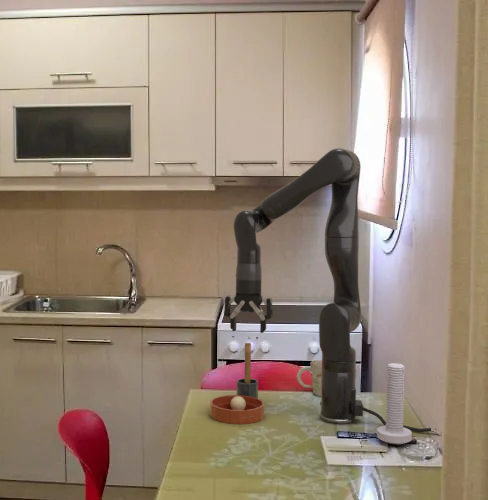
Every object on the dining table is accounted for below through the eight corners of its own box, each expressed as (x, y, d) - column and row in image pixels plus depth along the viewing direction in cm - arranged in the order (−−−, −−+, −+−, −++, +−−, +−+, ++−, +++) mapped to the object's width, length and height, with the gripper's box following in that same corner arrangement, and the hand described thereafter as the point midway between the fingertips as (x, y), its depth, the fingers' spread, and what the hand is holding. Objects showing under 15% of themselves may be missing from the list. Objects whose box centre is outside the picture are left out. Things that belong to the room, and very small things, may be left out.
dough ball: (246, 409, 201) (246, 394, 200) (245, 414, 196) (245, 399, 196) (231, 408, 201) (231, 394, 201) (229, 413, 197) (229, 398, 197)
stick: (250, 401, 209) (251, 342, 207) (250, 403, 207) (250, 344, 206) (244, 401, 209) (245, 342, 208) (243, 403, 207) (244, 343, 206)
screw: (400, 435, 181) (402, 360, 179) (418, 447, 172) (420, 368, 171) (370, 438, 179) (372, 361, 177) (387, 449, 170) (389, 369, 169)
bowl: (265, 410, 202) (265, 396, 201) (262, 427, 187) (263, 412, 186) (213, 407, 204) (213, 393, 204) (207, 424, 189) (207, 409, 189)
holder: (258, 401, 211) (258, 378, 210) (257, 407, 204) (257, 384, 204) (237, 400, 212) (237, 378, 211) (235, 406, 205) (235, 383, 205)
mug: (336, 398, 214) (337, 366, 214) (295, 396, 217) (296, 364, 216) (336, 391, 222) (337, 360, 222) (297, 389, 225) (297, 358, 224)
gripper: (274, 277, 207) (274, 331, 208) (228, 275, 211) (228, 327, 212) (269, 280, 199) (269, 335, 201) (222, 278, 204) (221, 332, 205)
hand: (248, 331), depth 206 cm, fingers open, 8 cm apart
